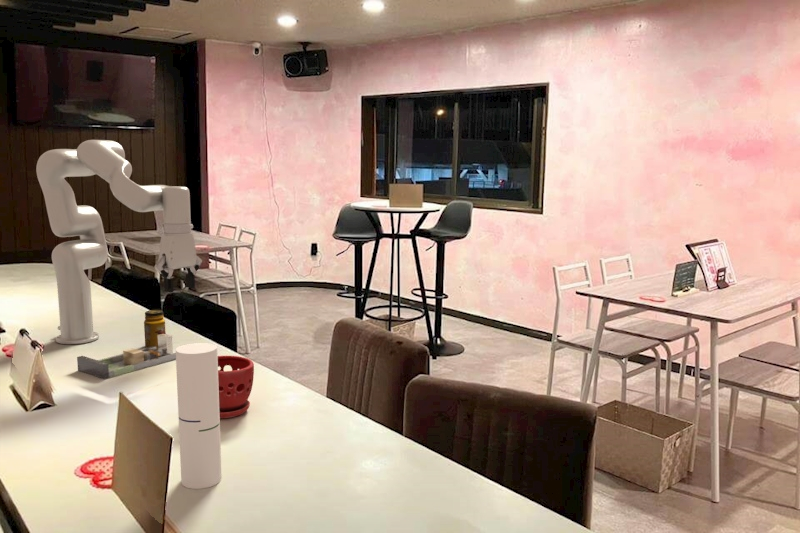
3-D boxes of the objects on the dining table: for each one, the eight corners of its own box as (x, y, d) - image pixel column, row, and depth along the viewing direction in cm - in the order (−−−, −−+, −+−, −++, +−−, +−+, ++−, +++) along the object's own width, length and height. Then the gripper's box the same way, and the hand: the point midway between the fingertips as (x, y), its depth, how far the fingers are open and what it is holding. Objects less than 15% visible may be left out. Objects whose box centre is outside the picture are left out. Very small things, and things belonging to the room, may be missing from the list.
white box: (136, 358, 200) (135, 339, 199) (163, 351, 207) (162, 333, 207) (153, 363, 196) (152, 344, 195) (179, 355, 203) (179, 337, 202)
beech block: (123, 362, 197) (123, 350, 196) (133, 360, 199) (132, 348, 199) (134, 366, 194) (133, 353, 194) (144, 363, 197) (143, 351, 196)
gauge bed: (78, 374, 190) (77, 357, 189) (154, 354, 209) (153, 338, 208) (104, 383, 183) (102, 364, 182) (180, 361, 202) (179, 344, 202)
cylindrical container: (185, 471, 133) (180, 343, 129) (224, 470, 134) (220, 342, 130) (177, 489, 126) (171, 354, 122) (218, 488, 127) (213, 353, 123)
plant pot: (203, 426, 155) (201, 374, 153) (191, 407, 167) (189, 358, 165) (261, 416, 161) (260, 366, 159) (246, 399, 173) (244, 351, 171)
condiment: (170, 350, 214) (168, 312, 212) (141, 355, 209) (139, 315, 207) (163, 345, 220) (161, 307, 218) (135, 349, 215) (133, 310, 213)
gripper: (193, 226, 213) (195, 283, 216) (143, 230, 199) (146, 292, 202) (209, 227, 209) (211, 286, 212) (160, 232, 195) (163, 295, 198)
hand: (180, 289), depth 207 cm, fingers open, 6 cm apart
